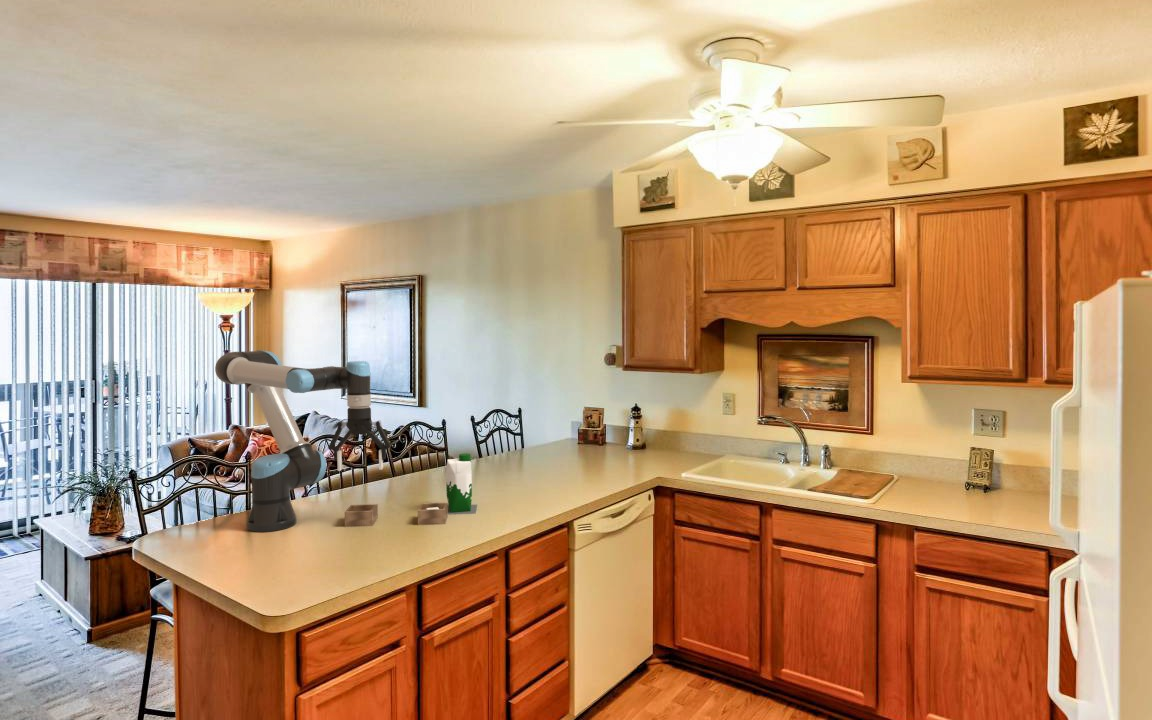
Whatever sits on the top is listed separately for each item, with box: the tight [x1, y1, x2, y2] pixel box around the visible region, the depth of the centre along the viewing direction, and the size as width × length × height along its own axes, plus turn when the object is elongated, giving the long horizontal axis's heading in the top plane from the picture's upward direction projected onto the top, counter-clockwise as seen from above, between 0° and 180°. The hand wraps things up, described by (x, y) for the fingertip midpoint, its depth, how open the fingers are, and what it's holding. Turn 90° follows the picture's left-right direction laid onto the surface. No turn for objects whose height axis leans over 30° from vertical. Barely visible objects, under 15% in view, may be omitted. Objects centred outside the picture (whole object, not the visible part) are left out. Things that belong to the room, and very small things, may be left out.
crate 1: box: [343, 503, 379, 528], centre depth 222 cm, size 9×9×6 cm
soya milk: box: [445, 453, 473, 513], centre depth 237 cm, size 9×9×20 cm
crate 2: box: [417, 502, 449, 526], centre depth 224 cm, size 9×9×6 cm
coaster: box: [448, 504, 478, 516], centre depth 238 cm, size 12×12×1 cm
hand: (360, 469), depth 222 cm, fingers open, 13 cm apart
